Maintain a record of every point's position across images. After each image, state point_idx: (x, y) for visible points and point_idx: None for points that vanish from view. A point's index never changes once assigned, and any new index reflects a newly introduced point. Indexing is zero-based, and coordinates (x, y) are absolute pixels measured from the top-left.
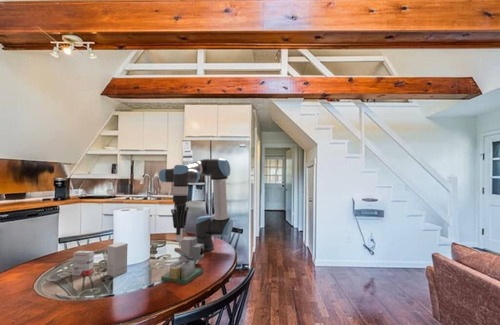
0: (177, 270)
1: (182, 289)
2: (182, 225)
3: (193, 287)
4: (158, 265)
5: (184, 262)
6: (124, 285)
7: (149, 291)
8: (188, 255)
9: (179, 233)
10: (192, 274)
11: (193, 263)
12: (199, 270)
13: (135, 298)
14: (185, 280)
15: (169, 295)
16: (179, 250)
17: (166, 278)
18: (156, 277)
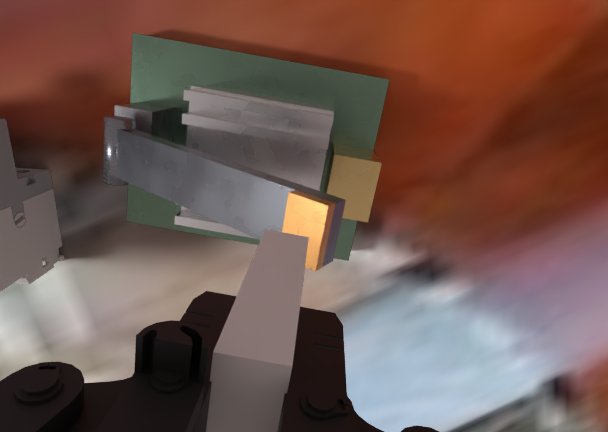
0: (370, 159)
1: (464, 66)
2: (191, 412)
3: (424, 2)
4: (119, 364)
5: (45, 228)
6: (437, 390)
7: (505, 243)
8: (178, 147)
9: (310, 323)
10: (267, 73)
11: (194, 90)
12: (174, 50)
13: (597, 269)
14: (388, 79)
15: (558, 109)
16: (340, 202)
17: (355, 222)
18: (303, 295)
